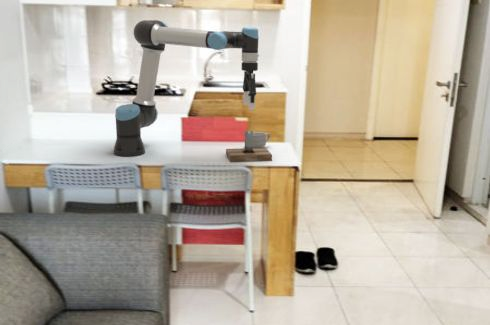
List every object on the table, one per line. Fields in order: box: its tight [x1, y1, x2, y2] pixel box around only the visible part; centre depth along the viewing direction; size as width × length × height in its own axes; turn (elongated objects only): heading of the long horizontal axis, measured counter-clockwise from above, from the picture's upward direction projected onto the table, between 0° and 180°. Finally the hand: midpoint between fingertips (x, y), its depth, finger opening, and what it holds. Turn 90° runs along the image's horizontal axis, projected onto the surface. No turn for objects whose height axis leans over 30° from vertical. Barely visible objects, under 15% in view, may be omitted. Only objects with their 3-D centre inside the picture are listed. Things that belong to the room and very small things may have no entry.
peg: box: [244, 130, 254, 153], centre depth 256 cm, size 4×4×13 cm
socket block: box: [225, 147, 273, 163], centre depth 257 cm, size 14×20×3 cm
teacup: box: [253, 131, 271, 148], centre depth 276 cm, size 14×11×8 cm
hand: (248, 107), depth 251 cm, fingers open, 13 cm apart
